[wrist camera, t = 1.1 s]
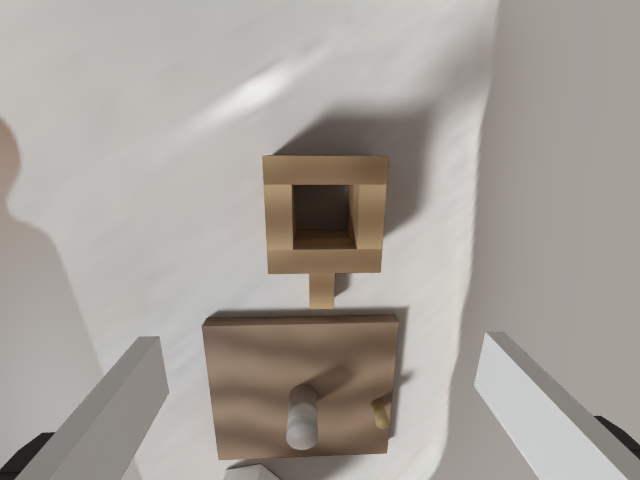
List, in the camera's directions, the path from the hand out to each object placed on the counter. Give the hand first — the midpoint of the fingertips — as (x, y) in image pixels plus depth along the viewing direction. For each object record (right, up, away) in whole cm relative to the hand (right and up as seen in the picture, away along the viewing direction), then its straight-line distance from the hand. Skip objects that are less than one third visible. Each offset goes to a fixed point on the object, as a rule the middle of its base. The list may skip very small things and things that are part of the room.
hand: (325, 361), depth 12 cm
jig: (-2, -12, +22) cm, 25 cm away
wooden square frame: (0, +6, +17) cm, 18 cm away
